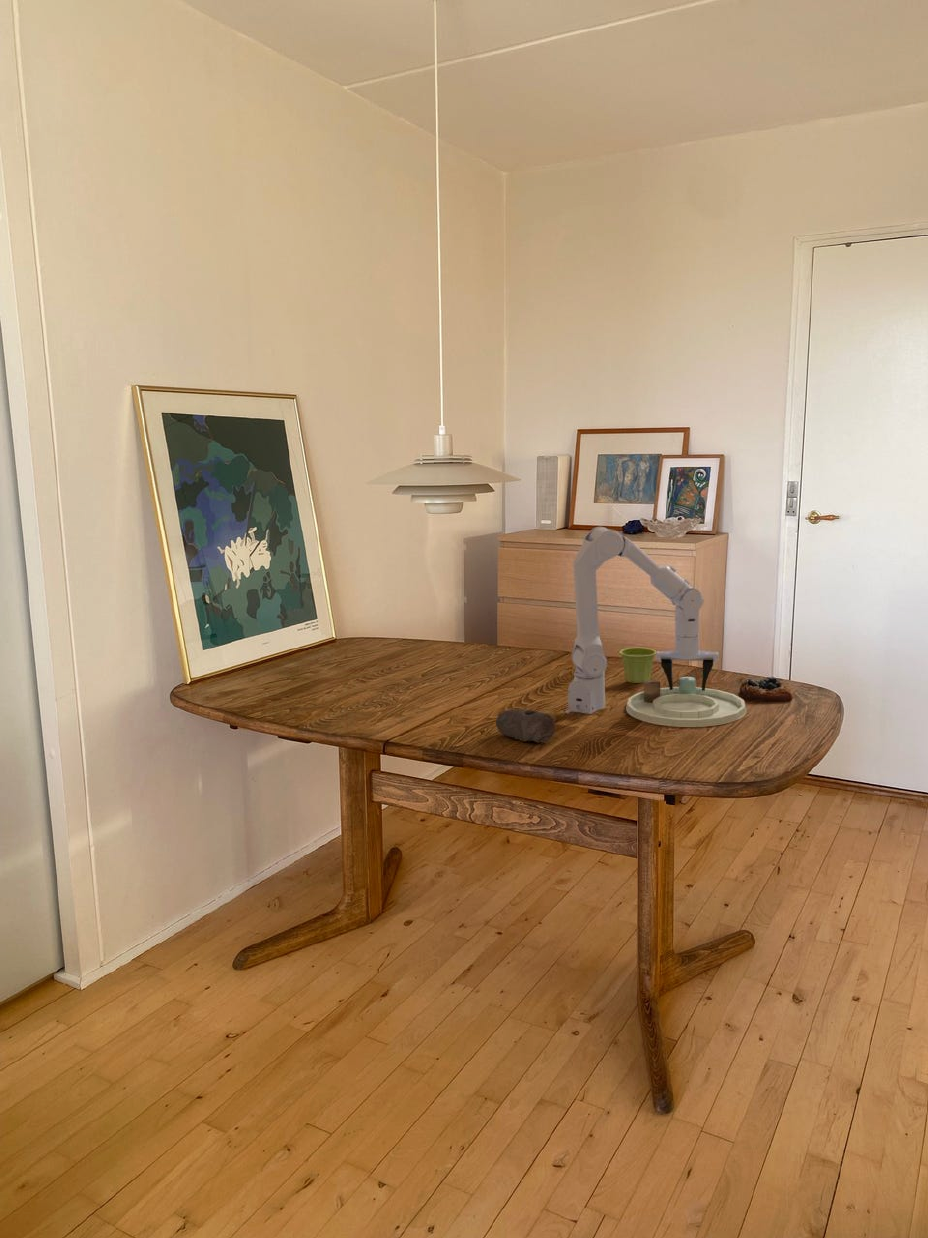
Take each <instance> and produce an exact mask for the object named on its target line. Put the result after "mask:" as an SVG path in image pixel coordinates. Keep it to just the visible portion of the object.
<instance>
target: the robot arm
mask: <svg viewBox="0 0 928 1238" xmlns="http://www.w3.org/2000/svg"><path fill="white" fill-rule="evenodd" d="M617 556H618V557H620V558H627V560H629V561H630V562H632V563H633V564H634V565H635V566H637V567H638V568H639V569H640V570H642V571H643V572H644V573H646V575H648V576H649V579H650V584H651V585H652V586H653V587H654V588H655V589H657V590H658V591H659V592H660V593H662V594H663V595H664V596H665V597H667V599H669V601H670V602H671V604H672V605H673V606H675V607H674V614H675V615H674V629H675V630H674V650H665V651H662V650H661V651H658V650H657V651H656V661H657V662H660V661H661V662H660V664H661V668H662V670H663V672H664V674H665V676H666V680H667V682H668V685H669V686H668V687H669V688H670V690H673V687H674V680H673V661H682V662H683V661H687V662H689V661H690V662H692V661H693V662H702V681H701V688H702V691H705V688H706V685H707V681H708V678H709V675H710V673H711V670H713V669H712V668H713V666H714V663H718V662H719V652H717V651H714V652H713V651H703V650H700V610H701V608H702V606H703V605H704V602H705V599H704V598H703V596H702V593H701V592H700V591H699V590H698V588H695V587H691V586H690V584H691V581H689V580H687V579H683V577H681V576H680V575H679V574H677V573H676V571H677V569H676V568H675V567H673V566H668V565H659V564H658V563H656V562H655V560H653V559H652V557H650V556H649V555H648V554H647V553H645V552H644V551H643V550H642V549H641V548H640V547H639V546H638V545H636V543H634V542H633V541H632V540H631V539H629V538H628V537H626V536H624V535H622V534H621V533H620V532H619V531H617V530H614V529H609V528H606V527H604V526H597V527H594V528H592V529H591V530H590V531H589V532H588V533H587V534H585V535H584V537H583V540H582V544H581V545H580V547H579V550H578V552H577V554H576V556H575V558H574V561H573V577H574V596H575V597H574V598H575V599H574V601H575V614H576V615H575V616H576V630H577V631H576V632H577V633H576V635H577V636H576V637H575V638H574V647H573V649H572V652H571V661H572V663H573V665H574V666H575V670H574V671H573V673H574V674H573V676H574V677H573V680H572V681H571V682H570V683H569V685H568V688H567V702H568V709H567V710H565V712H564V713H565V714H569V713H571V712H576V713H580V714H589V715H591V714H593V713H595V712H596V711H600V710H603V709H605V707H606V694H605V693H606V687H605V686H606V685H605V683H606V681H605V679H606V677H605V671H606V669H607V667H608V659H607V657H606V655H605V654H604V650H603V644H602V640H601V637H600V627H599V626H600V625H599V614H598V613H599V610H598V606H599V605H598V589H597V588H598V587H597V570H598V569H599V568H600V567H601V566H602V565H603V564H604V563H605V562H608V561H609V560H611V559H613V558H616V557H617Z"/></svg>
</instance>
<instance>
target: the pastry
mask: <svg viewBox="0 0 928 1238" xmlns="http://www.w3.org/2000/svg"><path fill="white" fill-rule="evenodd" d="M738 694H739V697H740V698H741V699H743V700H744V701H747V702H749V703H750V702H751V703H778V702H779V703H780V702H789V701H791V700H792V699H793V698H794V697H793V696H794V695H793V692H792V691H791V689H790V687H789V685H787V684H785V683H784V682H783V681H782V680H778V679H777V678H776V677H773V676H772V677H768V676H767V677H766V678H765V679H760V680H758V679H756V680H755V679H753V678H749V679H745V680H744V681H742V682H741V684H740V687H739V693H738Z"/></svg>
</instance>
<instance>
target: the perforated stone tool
mask: <svg viewBox="0 0 928 1238" xmlns="http://www.w3.org/2000/svg"><path fill="white" fill-rule="evenodd" d="M495 726H496V728H497V730H498V731H499V732H500V733H501V734H502V735H504V736H505V735H506V737H508V736H509V737H508V738H513V737H514V738H517V739H521V740H526V741H528V742H534V741H535V742H537V743H536V744H540V743H539V742H541V743H543V742H548V741H549V740H550V739H551V738H552V737H553V736H554V734H555V723H554V717H553V716H552V715H550V714H548V713H545V712H541V711H537V710H531V709H508V710H504V711H502V712H500V713H498V715H497V718H496V720H495ZM514 738H513V739H514ZM517 739H516V740H517ZM521 740H520V741H521ZM542 741H543V742H542ZM535 742H534V743H535Z"/></svg>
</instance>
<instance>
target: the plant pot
mask: <svg viewBox="0 0 928 1238" xmlns="http://www.w3.org/2000/svg"><path fill="white" fill-rule="evenodd" d="M619 654H620V655H621V658H622V661H623V662H622V663H623V669H624V674H625V681H626V683H627V682H629V683H634V684H635V683H637V684H642V683H643V684H644V682H645V681H651V675H652V670H653V669H652V668H653V663H654V662H653V661H654V659H655V655H657V651H656V649H652V648H647V647H627V648H624V649H623V648H622V649H621V650H620V651H619Z"/></svg>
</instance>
